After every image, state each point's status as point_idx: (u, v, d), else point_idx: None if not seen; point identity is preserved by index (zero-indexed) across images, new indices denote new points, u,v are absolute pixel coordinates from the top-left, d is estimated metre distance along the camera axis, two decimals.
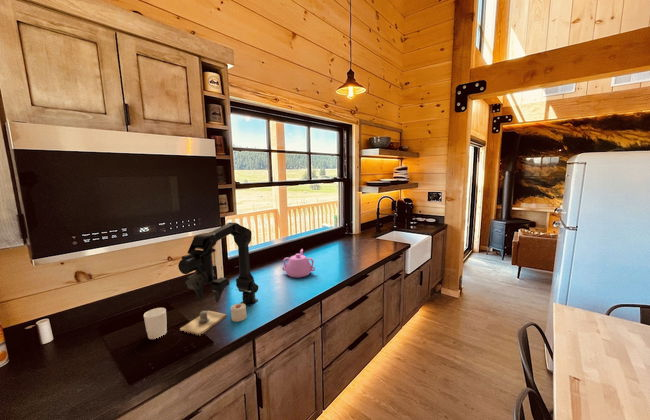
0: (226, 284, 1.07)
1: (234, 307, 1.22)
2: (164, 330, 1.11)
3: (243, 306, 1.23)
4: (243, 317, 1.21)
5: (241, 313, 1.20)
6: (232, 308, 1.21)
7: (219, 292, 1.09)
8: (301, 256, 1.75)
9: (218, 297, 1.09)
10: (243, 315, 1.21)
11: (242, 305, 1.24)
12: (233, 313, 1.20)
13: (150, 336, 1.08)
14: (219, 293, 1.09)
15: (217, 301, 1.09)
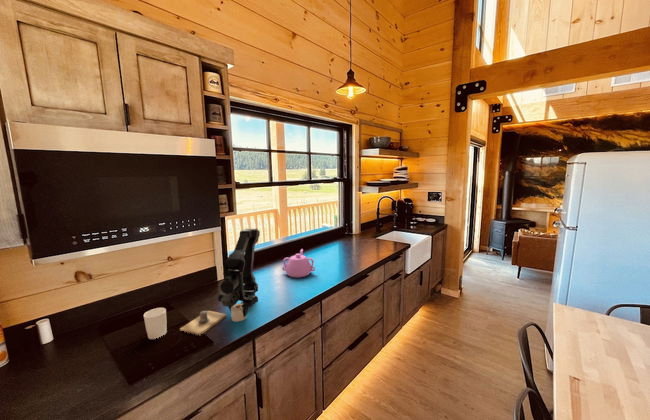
0: (255, 301, 1.20)
1: (234, 307, 1.22)
2: (164, 330, 1.11)
3: None
4: (243, 317, 1.21)
5: (241, 313, 1.20)
6: (232, 308, 1.21)
7: (246, 308, 1.21)
8: (301, 256, 1.75)
9: (246, 312, 1.21)
10: (243, 315, 1.21)
11: None
12: (233, 313, 1.20)
13: (150, 336, 1.08)
14: (246, 309, 1.21)
15: (245, 316, 1.22)
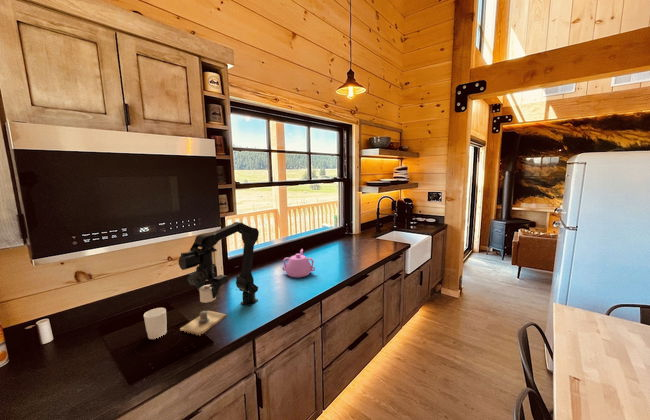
0: (225, 281, 1.15)
1: (203, 288, 1.16)
2: (164, 330, 1.11)
3: None
4: (212, 298, 1.16)
5: (210, 294, 1.15)
6: (200, 289, 1.16)
7: (216, 288, 1.16)
8: (301, 256, 1.75)
9: (215, 293, 1.16)
10: (212, 296, 1.16)
11: None
12: (201, 294, 1.14)
13: (150, 336, 1.08)
14: (216, 289, 1.16)
15: (214, 297, 1.16)
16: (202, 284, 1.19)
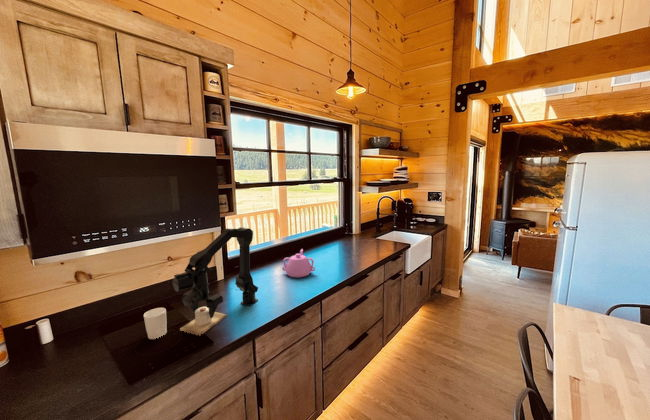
0: (220, 301, 1.15)
1: (198, 310, 1.18)
2: (164, 330, 1.11)
3: (208, 309, 1.18)
4: (208, 321, 1.17)
5: (205, 317, 1.16)
6: (196, 311, 1.17)
7: (213, 308, 1.16)
8: (301, 256, 1.75)
9: (212, 313, 1.16)
10: (207, 319, 1.17)
11: (207, 308, 1.19)
12: (197, 317, 1.16)
13: (150, 336, 1.08)
14: (213, 309, 1.16)
15: (211, 317, 1.17)
16: None
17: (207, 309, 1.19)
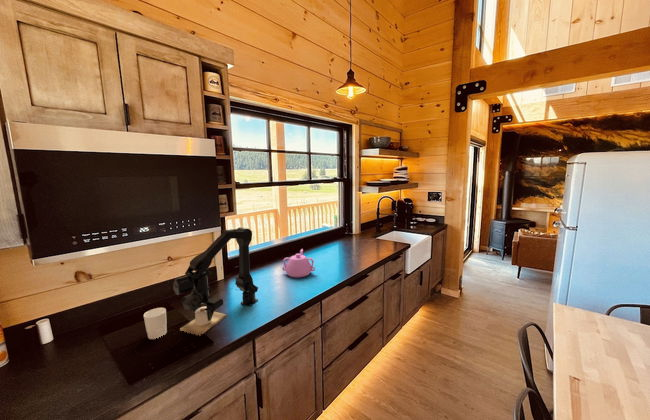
0: (220, 304, 1.15)
1: (198, 310, 1.18)
2: (164, 330, 1.11)
3: None
4: (208, 321, 1.17)
5: (205, 317, 1.16)
6: (196, 311, 1.17)
7: (211, 311, 1.17)
8: (301, 256, 1.75)
9: (210, 316, 1.17)
10: (207, 319, 1.17)
11: None
12: (197, 317, 1.16)
13: (150, 336, 1.08)
14: (211, 312, 1.17)
15: (209, 319, 1.17)
16: (198, 306, 1.20)
17: None
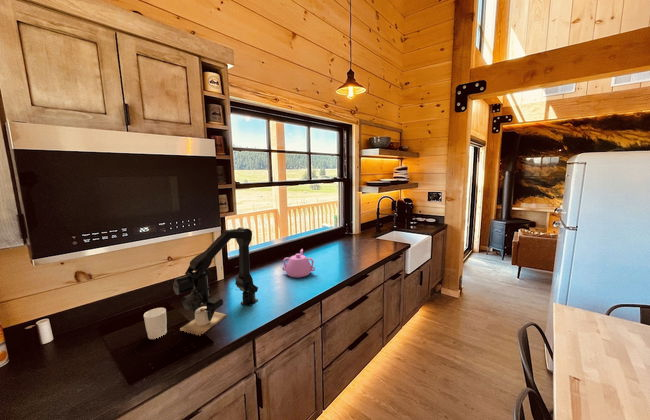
0: (220, 304, 1.15)
1: (201, 308, 1.19)
2: (164, 330, 1.11)
3: (204, 312, 1.16)
4: (200, 323, 1.16)
5: (197, 317, 1.15)
6: (198, 308, 1.19)
7: (212, 311, 1.17)
8: (301, 256, 1.75)
9: (211, 316, 1.17)
10: (200, 321, 1.16)
11: None
12: None
13: (150, 336, 1.08)
14: (212, 312, 1.17)
15: (210, 319, 1.17)
16: (198, 306, 1.21)
17: (204, 311, 1.17)
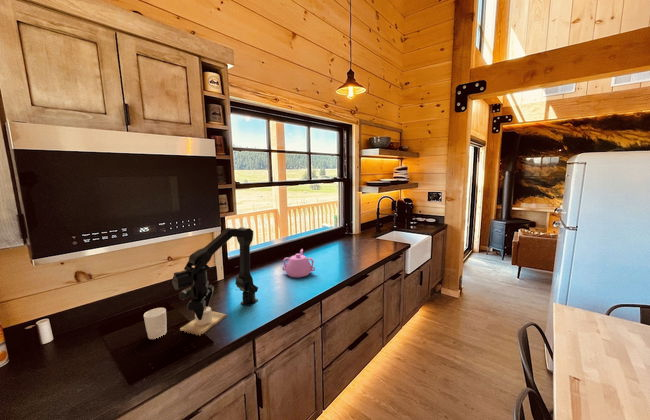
0: (197, 307, 1.08)
1: (205, 308, 1.20)
2: (164, 330, 1.11)
3: None
4: (195, 320, 1.17)
5: None
6: None
7: (199, 311, 1.12)
8: (301, 256, 1.75)
9: (198, 316, 1.13)
10: (195, 319, 1.17)
11: None
12: None
13: (150, 336, 1.08)
14: (199, 312, 1.12)
15: (199, 319, 1.14)
16: (207, 298, 1.23)
17: None
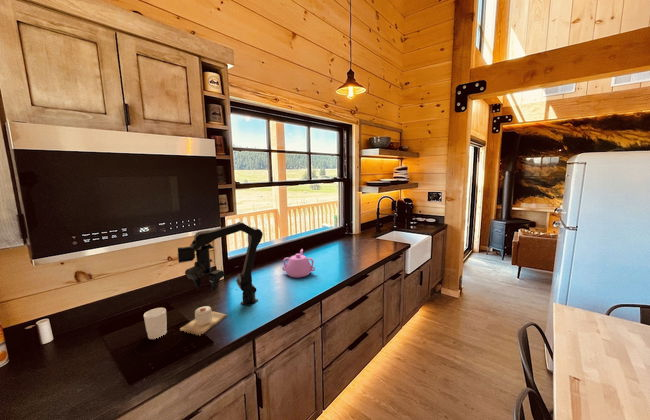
0: (221, 275, 1.22)
1: (205, 308, 1.20)
2: (164, 330, 1.11)
3: (198, 312, 1.16)
4: (195, 320, 1.17)
5: None
6: (204, 307, 1.21)
7: (215, 282, 1.23)
8: (301, 256, 1.75)
9: (214, 287, 1.23)
10: (195, 319, 1.17)
11: (201, 312, 1.16)
12: None
13: (150, 336, 1.08)
14: (215, 283, 1.23)
15: (213, 290, 1.24)
16: (198, 278, 1.27)
17: (200, 312, 1.17)
